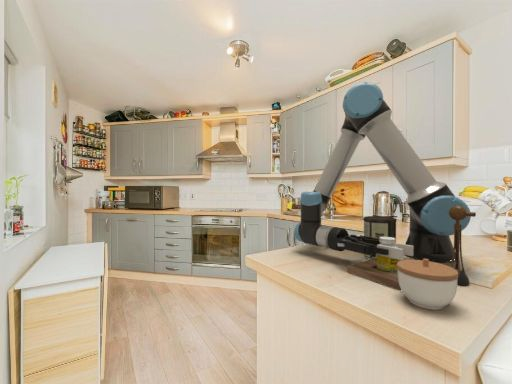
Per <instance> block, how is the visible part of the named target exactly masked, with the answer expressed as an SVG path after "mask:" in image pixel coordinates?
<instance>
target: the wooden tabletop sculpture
mask: <svg viewBox="0 0 512 384" xmlns="http://www.w3.org/2000/svg"><path fill="white" fill-rule="evenodd" d="M476 215H477V213H476V212H473V211H470V212H467V211H466V209H465V208H464V207H462V206H458V205H457V206H453V207H451V208H450V210H449V216H450V217H451V218H452V219H454V220H456V224H454V235H453V247H454V250H453V259H452V262H451V266H450V267H452V268H454V269H455V270H457V271H458V282H457V287H469V286H470V279H469V276H468V275H467V274H466V272H465V268H464V267H465V266H464V263H463V251H462V231H461V224H460V220H464V219H465V218H466V217H467V216H471V217H474V218H475V217H476ZM454 258H455V261H454ZM454 263H455V264H454ZM460 263H461V265H460ZM460 267H461V268H460Z"/></svg>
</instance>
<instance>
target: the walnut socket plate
mask: <svg viewBox="0 0 512 384" xmlns="http://www.w3.org/2000/svg"><path fill="white" fill-rule="evenodd" d="M346 267H347V273H348V274H351V275H353V276H356V277H360V278H363V279H365V280H368V281H371V282H373V283H377V284H380V285H382V286H385V287H389V288H392V289H394V290H396V289H397V290H398V291H399V290H400V291H401V288H400V286H399V282H398V276H397V273H394V274H391V273H388V272H385V271H381V270H378V269H377V258H375V259H371V260H368V259H366V260H364V261H360V262H356V263H352V264H349V265H347V266H346ZM401 292H402V291H401Z"/></svg>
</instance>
